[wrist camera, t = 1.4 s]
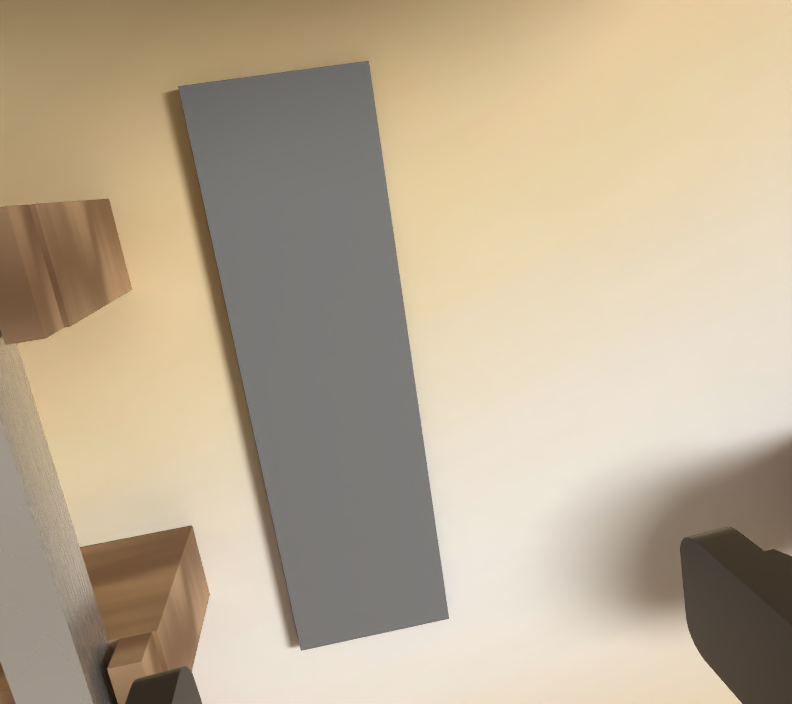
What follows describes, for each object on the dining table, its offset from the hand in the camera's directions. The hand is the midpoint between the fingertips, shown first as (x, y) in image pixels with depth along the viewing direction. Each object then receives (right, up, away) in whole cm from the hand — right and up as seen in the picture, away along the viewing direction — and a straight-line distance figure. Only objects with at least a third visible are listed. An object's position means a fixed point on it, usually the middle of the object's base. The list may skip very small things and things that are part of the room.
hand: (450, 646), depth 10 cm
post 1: (-16, +9, +18) cm, 26 cm away
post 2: (-14, -6, +22) cm, 27 cm away
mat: (-4, +3, +21) cm, 22 cm away
